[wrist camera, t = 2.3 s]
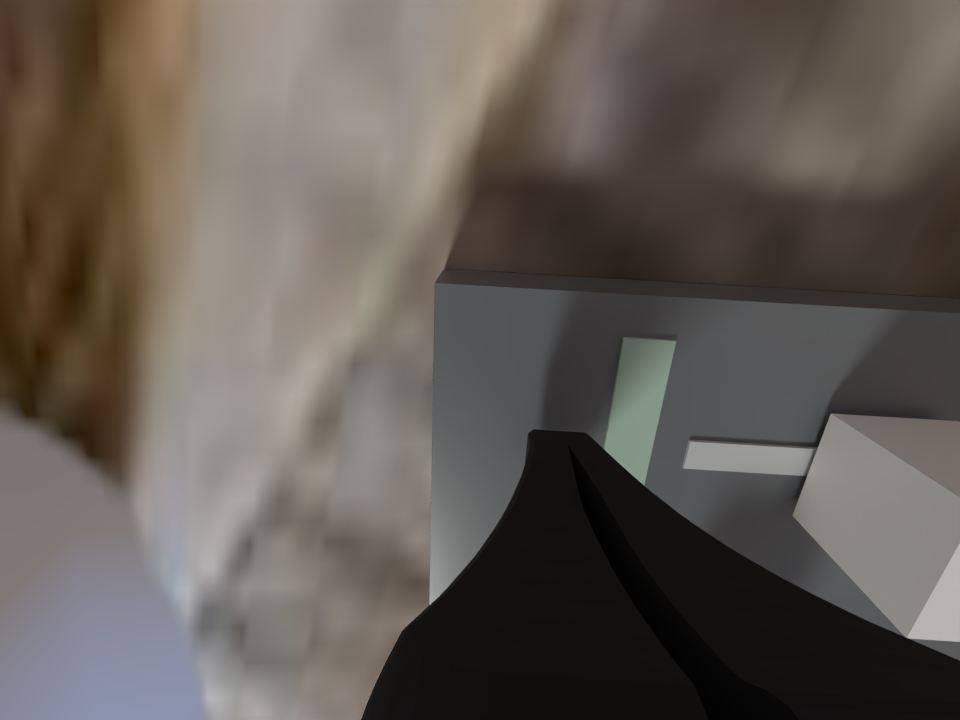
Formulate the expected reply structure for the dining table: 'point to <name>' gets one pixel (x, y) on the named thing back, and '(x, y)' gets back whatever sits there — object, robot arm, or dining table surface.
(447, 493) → the panel
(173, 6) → the dining table surface
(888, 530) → the block
